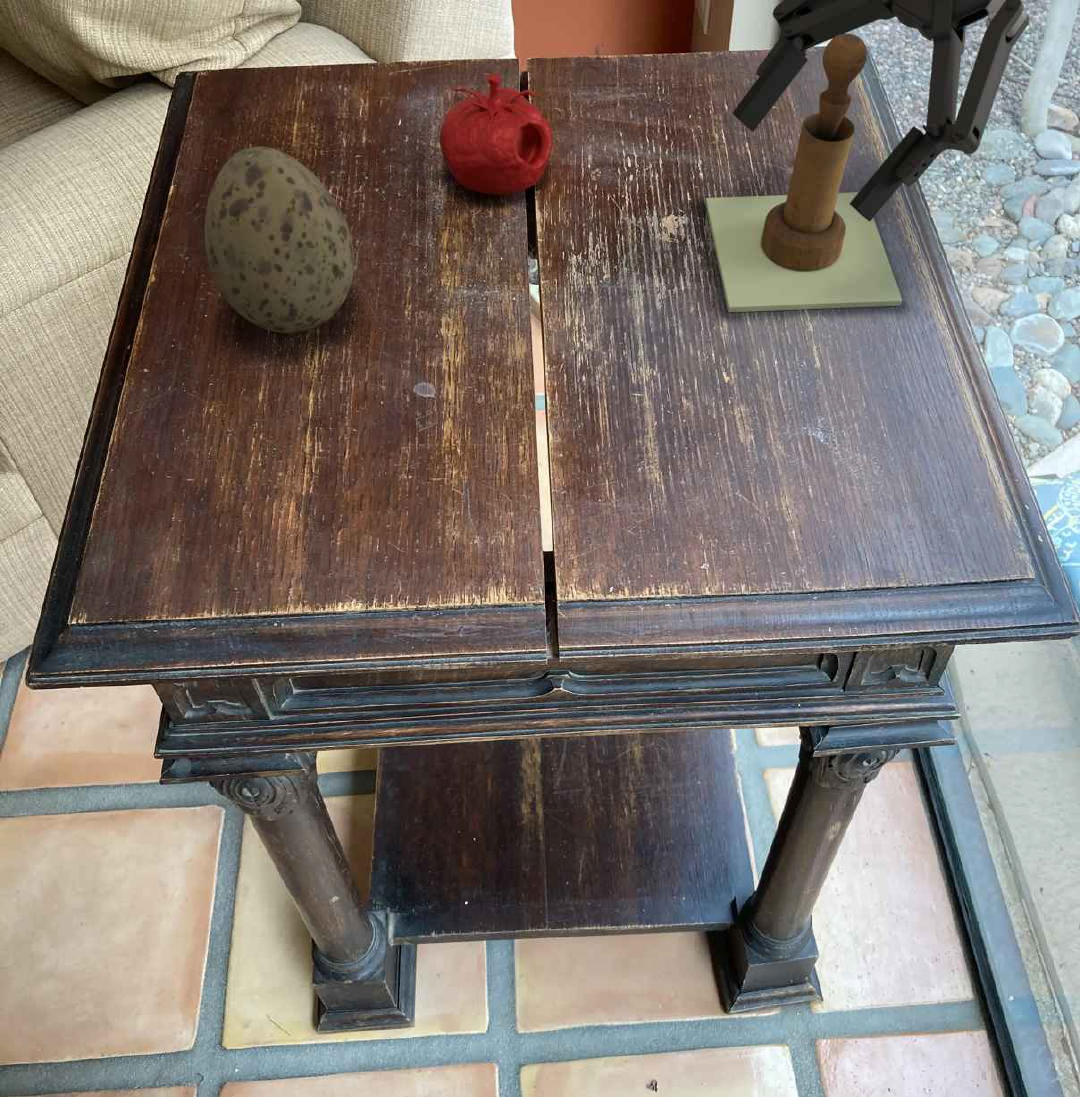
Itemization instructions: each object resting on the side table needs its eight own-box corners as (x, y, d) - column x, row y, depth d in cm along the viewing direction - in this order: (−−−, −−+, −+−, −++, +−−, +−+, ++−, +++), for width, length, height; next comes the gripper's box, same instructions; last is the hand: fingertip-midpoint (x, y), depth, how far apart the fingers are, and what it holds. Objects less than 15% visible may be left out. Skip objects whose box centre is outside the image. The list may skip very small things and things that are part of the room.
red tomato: (437, 208, 93) (426, 112, 85) (449, 141, 98) (440, 45, 91) (549, 211, 92) (548, 115, 84) (555, 143, 98) (555, 47, 90)
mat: (900, 305, 85) (902, 300, 84) (727, 312, 84) (728, 306, 84) (862, 197, 93) (864, 191, 92) (704, 203, 92) (705, 197, 92)
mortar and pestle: (845, 229, 89) (901, 21, 75) (835, 278, 86) (893, 70, 71) (767, 216, 90) (808, 8, 76) (754, 264, 87) (795, 56, 72)
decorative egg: (210, 304, 86) (152, 140, 74) (329, 256, 89) (293, 92, 77) (264, 384, 81) (211, 222, 68) (388, 330, 84) (359, 166, 71)
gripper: (1163, 8, 69) (931, 271, 77) (897, -130, 82) (720, 108, 89) (1146, -53, 63) (896, 238, 71) (863, -193, 76) (676, 68, 83)
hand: (798, 166), depth 80 cm, fingers open, 13 cm apart
